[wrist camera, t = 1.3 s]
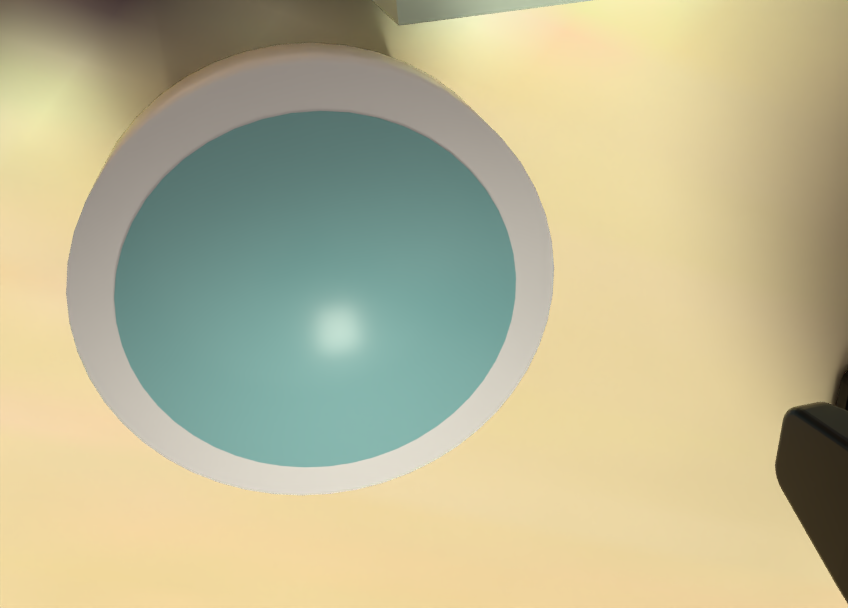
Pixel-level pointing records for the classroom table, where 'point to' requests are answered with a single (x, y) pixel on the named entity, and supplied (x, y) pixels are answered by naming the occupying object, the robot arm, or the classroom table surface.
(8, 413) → the classroom table surface
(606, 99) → the classroom table surface
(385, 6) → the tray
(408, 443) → the disc
